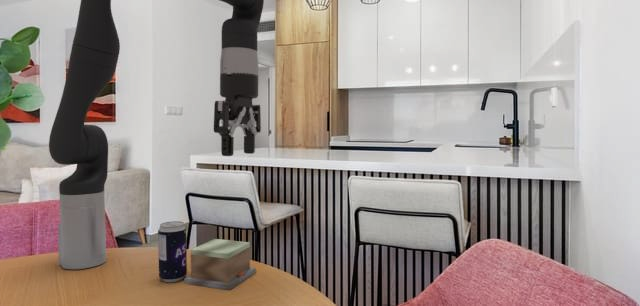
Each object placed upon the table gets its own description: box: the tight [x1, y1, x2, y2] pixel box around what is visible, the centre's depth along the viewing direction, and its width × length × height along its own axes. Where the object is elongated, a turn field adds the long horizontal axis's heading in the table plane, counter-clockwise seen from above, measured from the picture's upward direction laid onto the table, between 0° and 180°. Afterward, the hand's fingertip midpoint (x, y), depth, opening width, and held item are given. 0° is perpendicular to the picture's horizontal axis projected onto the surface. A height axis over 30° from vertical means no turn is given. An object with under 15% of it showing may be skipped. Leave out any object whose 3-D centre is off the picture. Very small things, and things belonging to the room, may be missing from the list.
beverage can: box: [157, 220, 188, 283], centre depth 87 cm, size 6×6×12 cm
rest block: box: [183, 238, 257, 291], centre depth 88 cm, size 11×11×7 cm
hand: (238, 154), depth 82 cm, fingers open, 8 cm apart
